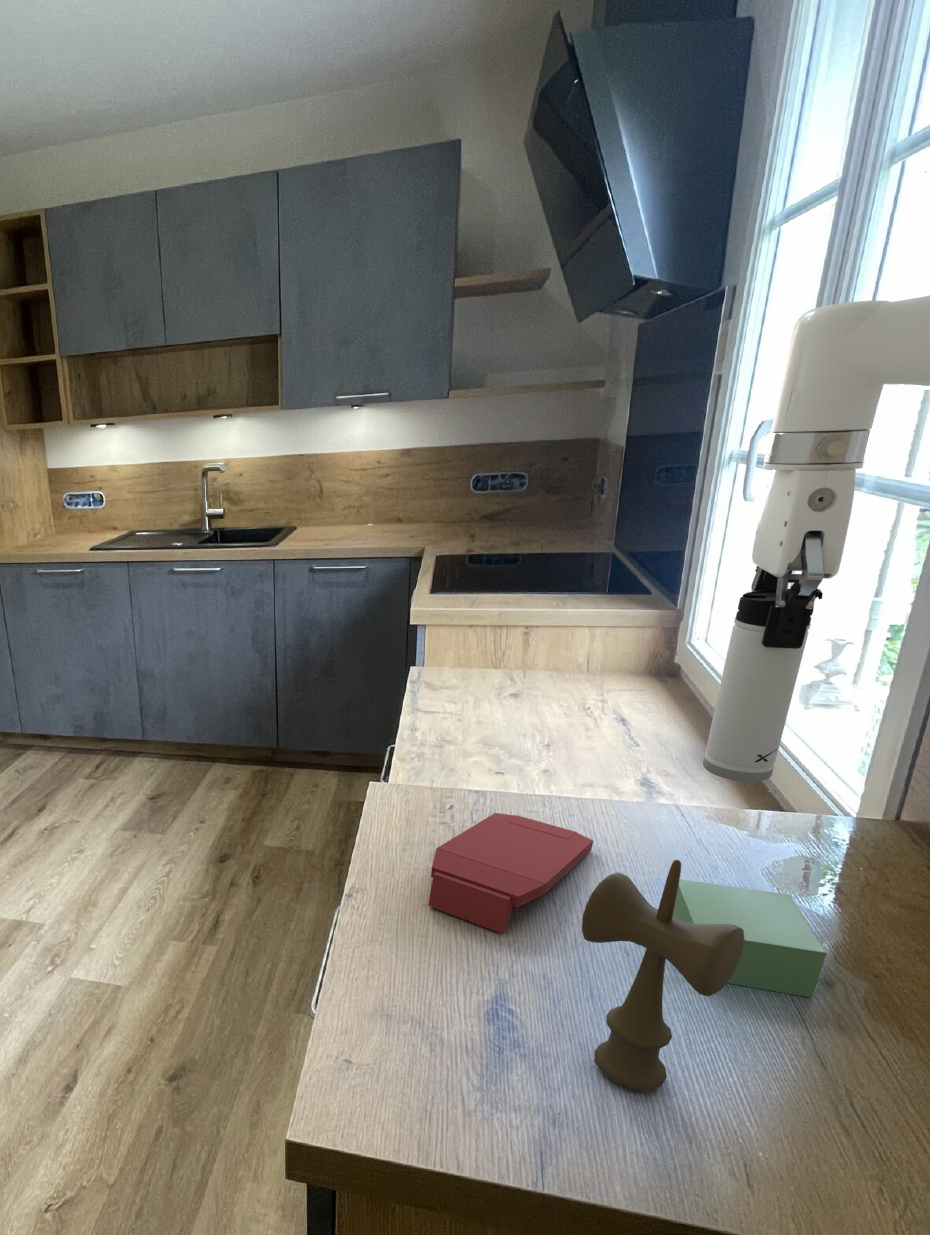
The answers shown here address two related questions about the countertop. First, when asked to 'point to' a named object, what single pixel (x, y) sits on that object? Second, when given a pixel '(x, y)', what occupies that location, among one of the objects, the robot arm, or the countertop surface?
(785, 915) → the green block
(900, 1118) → the countertop surface
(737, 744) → the travel mug
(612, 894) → the kendama
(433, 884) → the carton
